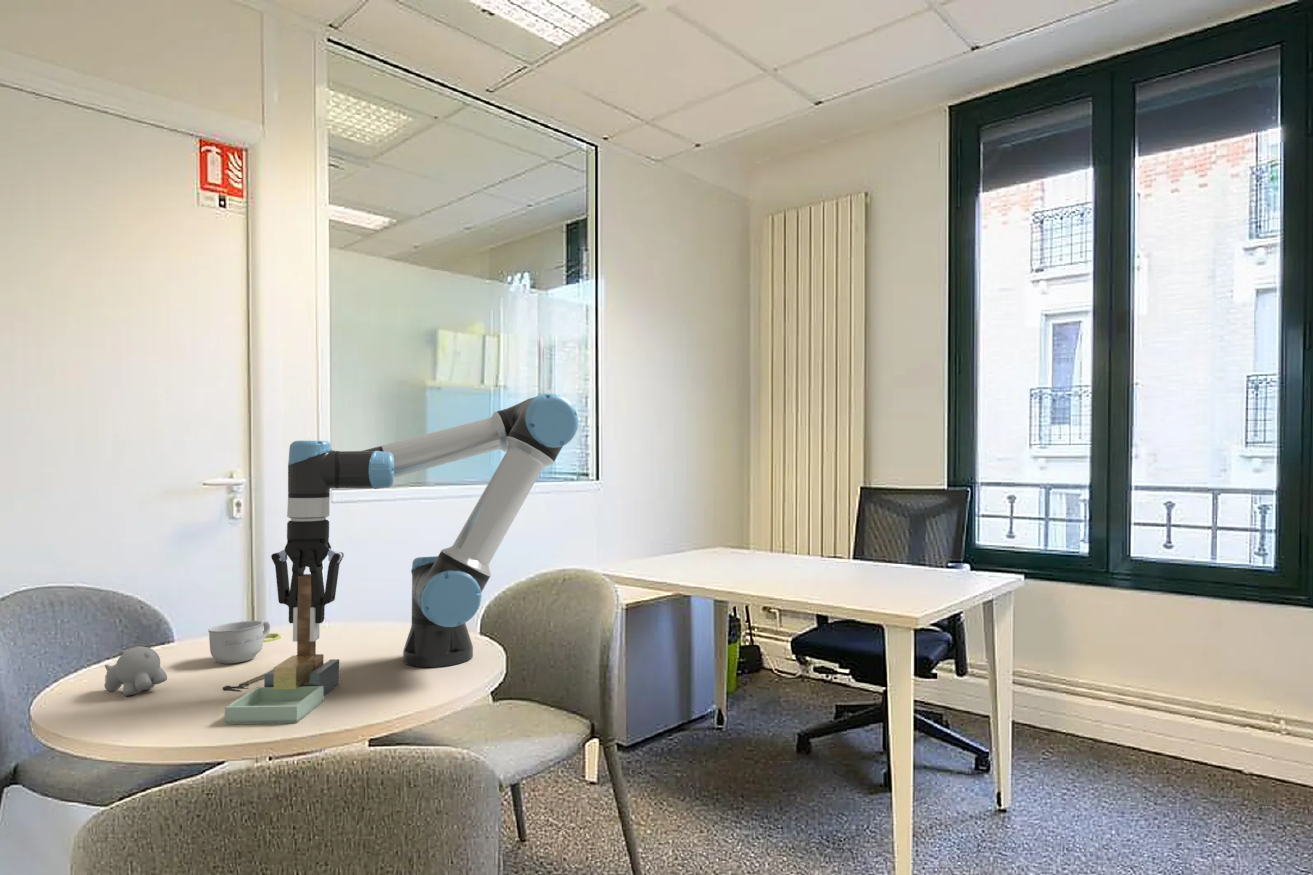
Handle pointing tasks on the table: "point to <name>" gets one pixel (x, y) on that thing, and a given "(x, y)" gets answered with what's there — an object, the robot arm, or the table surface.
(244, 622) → the teacup
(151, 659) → the toy rhinoceros
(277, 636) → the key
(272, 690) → the sage tray
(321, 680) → the graphite slot block
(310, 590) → the walnut t-shaped block
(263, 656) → the table surface
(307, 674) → the rear bronze block
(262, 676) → the tactical tomahawk
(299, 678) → the front bronze block
